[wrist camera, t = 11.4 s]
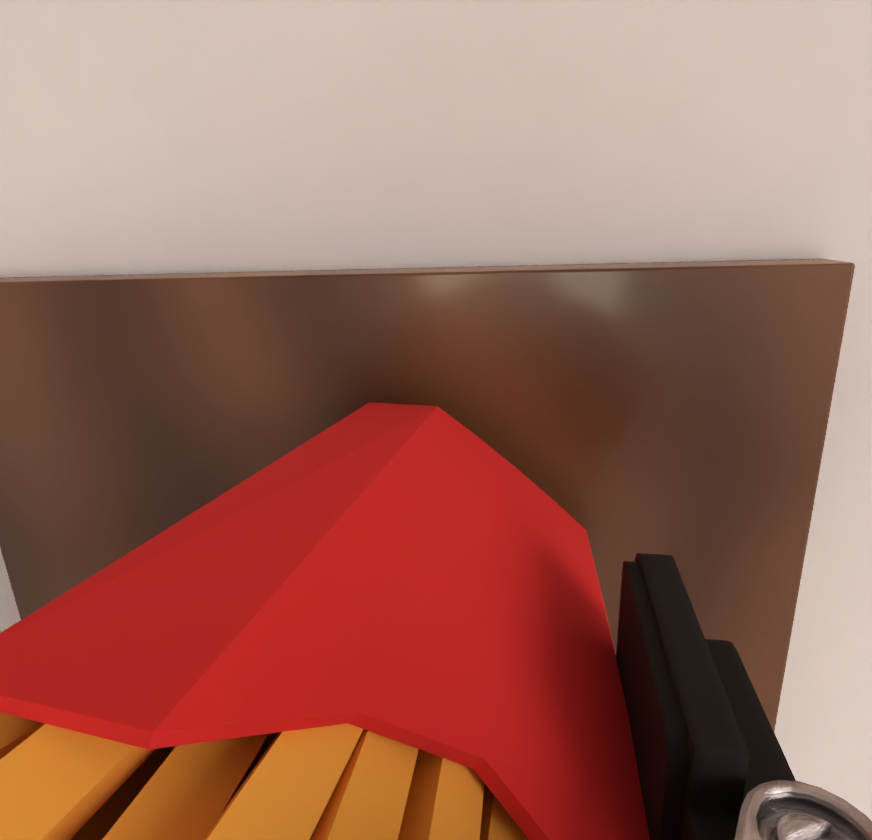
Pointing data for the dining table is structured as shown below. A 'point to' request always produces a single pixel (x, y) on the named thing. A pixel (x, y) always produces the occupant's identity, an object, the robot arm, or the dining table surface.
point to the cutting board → (452, 392)
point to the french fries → (331, 662)
